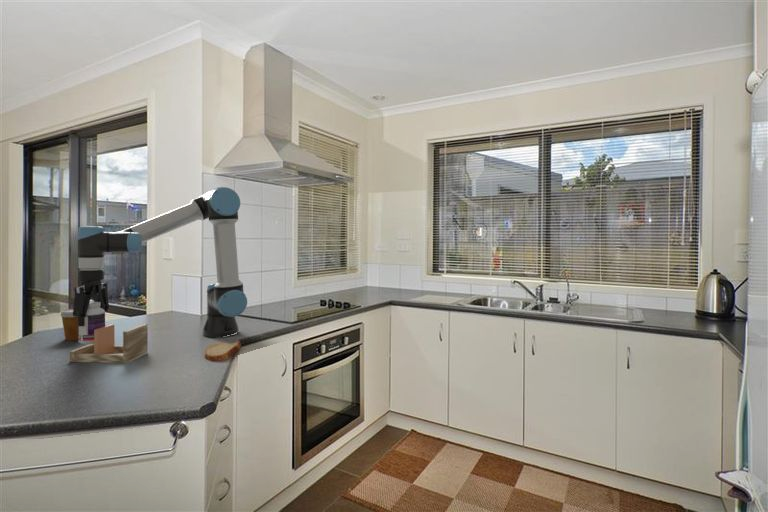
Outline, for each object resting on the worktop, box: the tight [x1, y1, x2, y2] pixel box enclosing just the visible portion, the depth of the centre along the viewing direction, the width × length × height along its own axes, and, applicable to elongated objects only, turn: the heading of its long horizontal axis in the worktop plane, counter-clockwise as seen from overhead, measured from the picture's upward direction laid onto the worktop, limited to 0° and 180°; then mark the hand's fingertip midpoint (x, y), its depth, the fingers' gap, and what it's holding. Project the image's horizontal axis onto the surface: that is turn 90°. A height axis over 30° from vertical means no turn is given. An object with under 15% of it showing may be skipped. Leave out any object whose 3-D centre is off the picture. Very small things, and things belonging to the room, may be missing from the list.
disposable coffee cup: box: [59, 308, 78, 341], centre depth 176 cm, size 10×10×12 cm
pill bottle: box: [77, 301, 106, 345], centre depth 151 cm, size 8×8×14 cm
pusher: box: [94, 323, 116, 354], centre depth 152 cm, size 1×9×10 cm, turn 0°
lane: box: [69, 323, 149, 364], centre depth 152 cm, size 20×12×11 cm, turn 90°
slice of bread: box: [204, 340, 242, 362], centre depth 161 cm, size 18×18×4 cm
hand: (92, 332), depth 152 cm, fingers closed on pill bottle, 8 cm apart
